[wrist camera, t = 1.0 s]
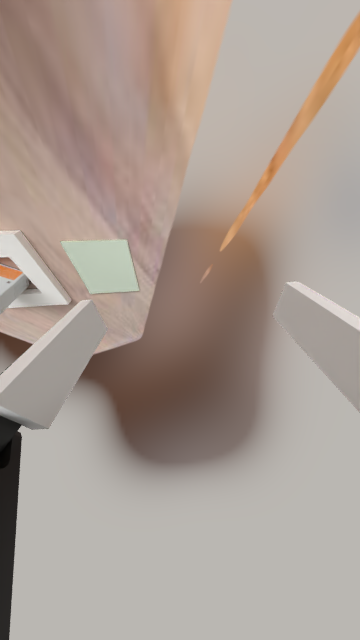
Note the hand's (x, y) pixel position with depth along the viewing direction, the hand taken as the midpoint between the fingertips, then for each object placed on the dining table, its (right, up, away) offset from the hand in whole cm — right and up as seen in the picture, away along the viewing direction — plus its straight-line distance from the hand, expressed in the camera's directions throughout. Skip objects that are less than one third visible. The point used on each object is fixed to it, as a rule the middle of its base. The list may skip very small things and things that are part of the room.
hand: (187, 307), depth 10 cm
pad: (-18, +11, +24) cm, 32 cm away
